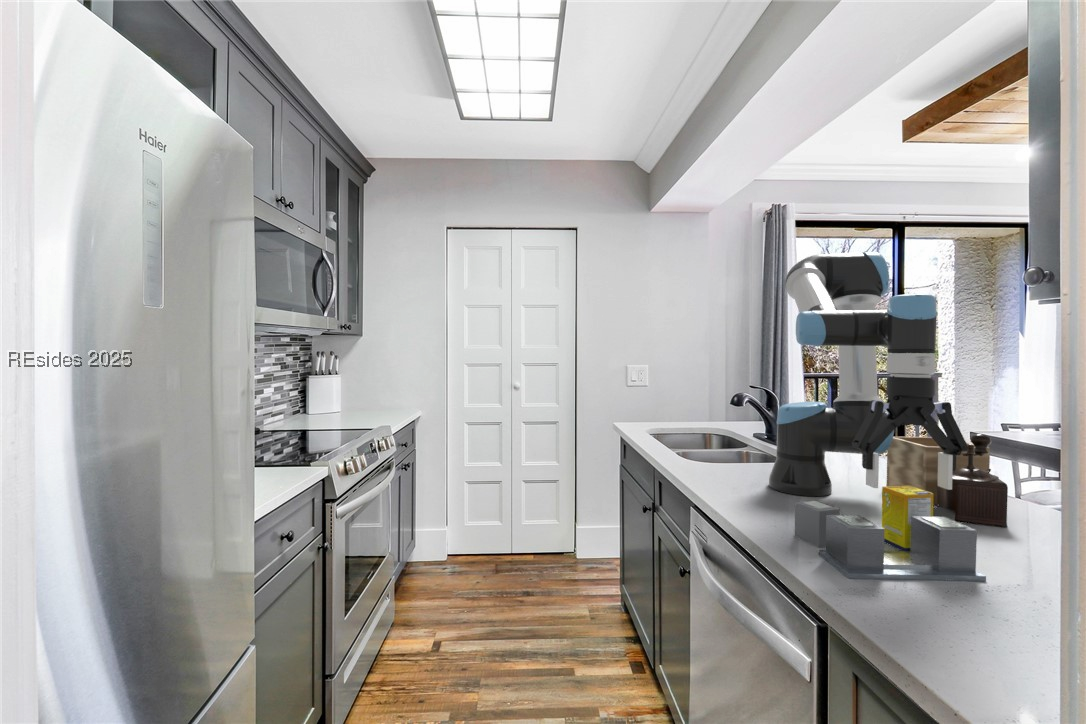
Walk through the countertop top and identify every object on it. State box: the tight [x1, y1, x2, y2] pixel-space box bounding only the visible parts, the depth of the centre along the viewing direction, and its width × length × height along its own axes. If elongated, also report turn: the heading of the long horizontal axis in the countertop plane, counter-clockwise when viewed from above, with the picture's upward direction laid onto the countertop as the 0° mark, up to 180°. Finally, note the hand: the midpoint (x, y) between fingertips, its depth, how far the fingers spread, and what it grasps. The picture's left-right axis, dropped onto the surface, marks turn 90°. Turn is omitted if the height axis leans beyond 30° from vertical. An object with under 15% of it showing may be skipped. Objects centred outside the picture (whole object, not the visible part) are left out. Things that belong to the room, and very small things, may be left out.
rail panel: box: [818, 514, 987, 582], centre depth 90 cm, size 10×22×8 cm, turn 88°
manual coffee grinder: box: [937, 433, 1009, 529], centre depth 119 cm, size 16×11×18 cm
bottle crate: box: [885, 436, 991, 505], centre depth 134 cm, size 15×15×14 cm
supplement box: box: [881, 485, 934, 551], centre depth 100 cm, size 6×6×11 cm
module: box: [794, 499, 841, 548], centre depth 102 cm, size 6×5×7 cm
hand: (908, 487), depth 99 cm, fingers open, 13 cm apart
